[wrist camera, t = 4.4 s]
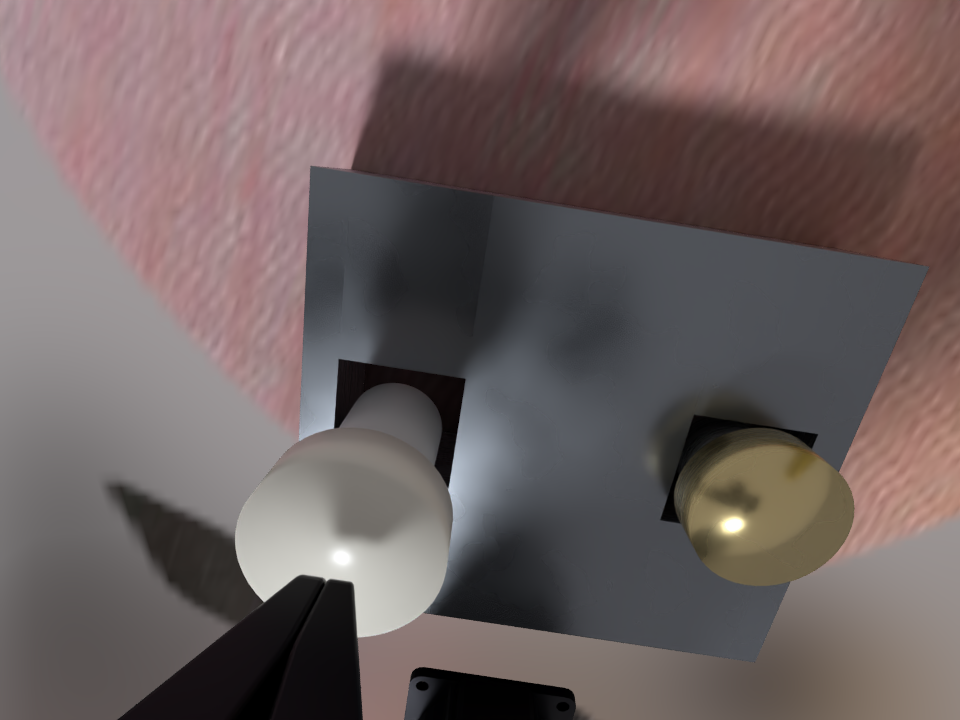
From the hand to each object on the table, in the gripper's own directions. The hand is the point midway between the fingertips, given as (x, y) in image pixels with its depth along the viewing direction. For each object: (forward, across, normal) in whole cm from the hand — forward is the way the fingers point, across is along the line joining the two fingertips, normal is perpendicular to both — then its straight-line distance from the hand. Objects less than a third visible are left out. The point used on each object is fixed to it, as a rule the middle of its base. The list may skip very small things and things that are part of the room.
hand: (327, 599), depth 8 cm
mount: (+9, -4, 0) cm, 10 cm away
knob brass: (+9, -9, 0) cm, 13 cm away
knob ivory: (+6, 0, 0) cm, 6 cm away
